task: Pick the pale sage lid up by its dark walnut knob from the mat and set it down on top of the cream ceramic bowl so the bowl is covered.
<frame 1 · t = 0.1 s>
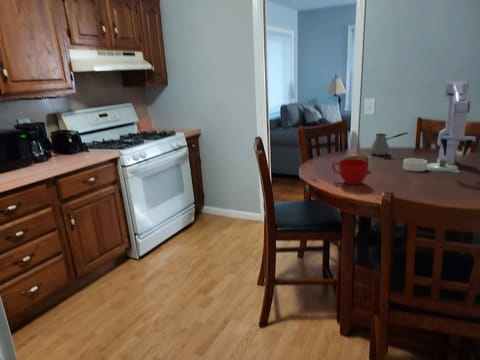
hand: (454, 155, 162), 10 cm above the table, tool pointing down, fingers open, 7 cm apart
ceramic cup: (348, 182, 162), on the table
lid: (441, 167, 177), resting on mat
coffee pot: (387, 155, 211), on the table
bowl: (414, 169, 179), on the table
mat: (441, 168, 178), on the table
tin: (354, 171, 181), on the table
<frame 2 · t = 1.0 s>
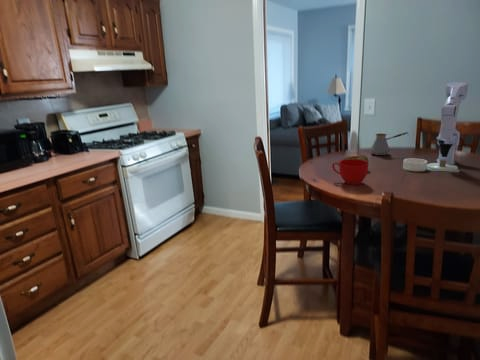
hand: (443, 155, 176), 7 cm above the table, tool pointing down, fingers open, 7 cm apart
nothing on the table moved.
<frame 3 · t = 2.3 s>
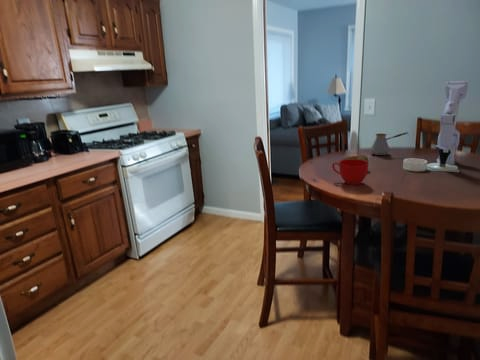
hand: (442, 163, 177), 3 cm above the table, tool pointing down, fingers closed on lid, 3 cm apart
lid: (441, 167, 177), resting on mat, touching gripper
everything else where it was.
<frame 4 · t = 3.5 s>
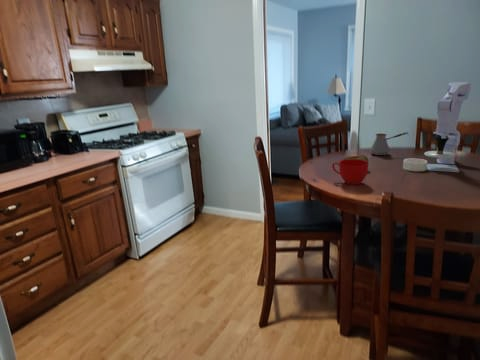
hand: (440, 150, 175), 10 cm above the table, tool pointing down, fingers closed on lid, 3 cm apart
lid: (439, 155, 176), point 7 cm above the table, touching gripper
everything else where it was.
when the fingers open (8 cm above the table, at t = 4.9 s): lid stays where it is, resting on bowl.
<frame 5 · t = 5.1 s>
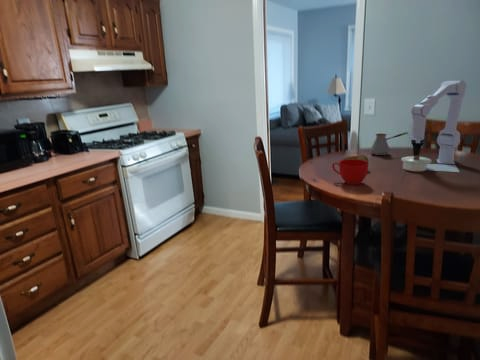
hand: (415, 154, 176), 8 cm above the table, tool pointing down, fingers open, 4 cm apart
lid: (416, 160, 177), point 4 cm above the table, touching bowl
everything else where it was.
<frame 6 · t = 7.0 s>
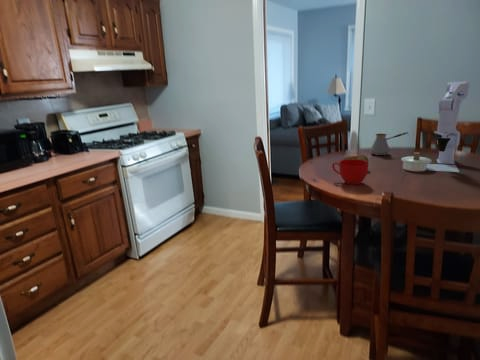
hand: (441, 149, 173), 10 cm above the table, tool pointing down, fingers open, 7 cm apart
nothing on the table moved.
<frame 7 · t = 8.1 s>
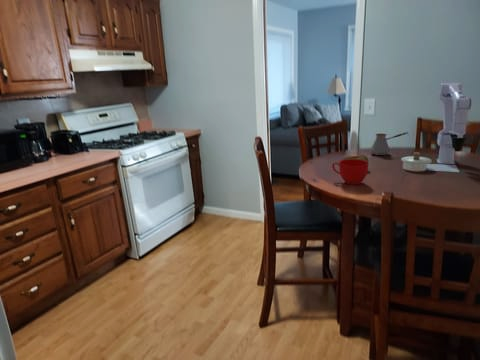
hand: (456, 149, 172), 10 cm above the table, tool pointing down, fingers open, 7 cm apart
nothing on the table moved.
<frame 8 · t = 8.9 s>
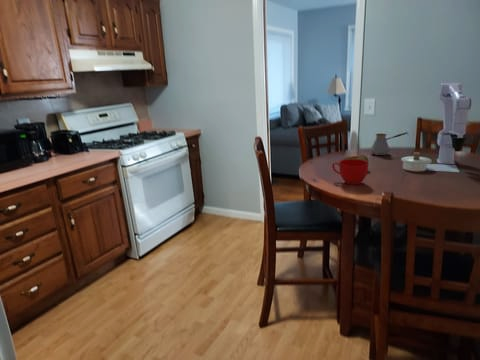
hand: (456, 149, 172), 10 cm above the table, tool pointing down, fingers open, 7 cm apart
nothing on the table moved.
at the end: lid 0.4 cm from the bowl (horizontally); lid point 4.5 cm above the table; lid tilted 0° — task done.
